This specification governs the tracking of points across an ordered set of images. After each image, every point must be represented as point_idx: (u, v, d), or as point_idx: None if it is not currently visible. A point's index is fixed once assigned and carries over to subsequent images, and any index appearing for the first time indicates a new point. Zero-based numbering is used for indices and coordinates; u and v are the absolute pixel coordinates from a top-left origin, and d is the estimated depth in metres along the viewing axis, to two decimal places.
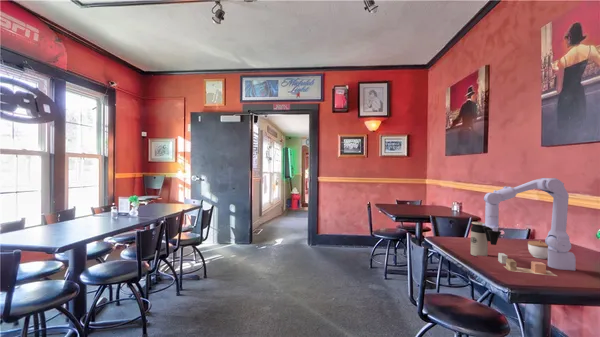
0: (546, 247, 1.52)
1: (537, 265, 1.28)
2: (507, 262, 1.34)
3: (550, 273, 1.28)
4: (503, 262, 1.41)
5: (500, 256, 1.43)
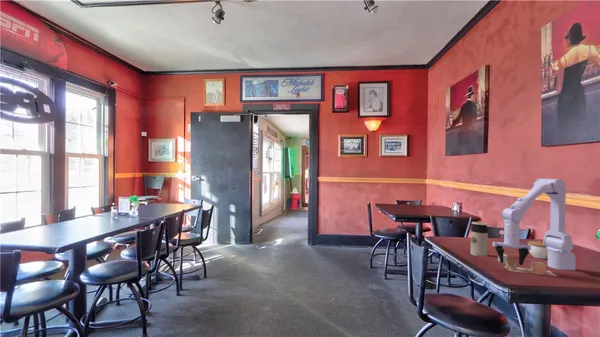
0: None
1: (537, 265, 1.28)
2: (507, 262, 1.34)
3: (550, 273, 1.28)
4: (503, 262, 1.41)
5: None
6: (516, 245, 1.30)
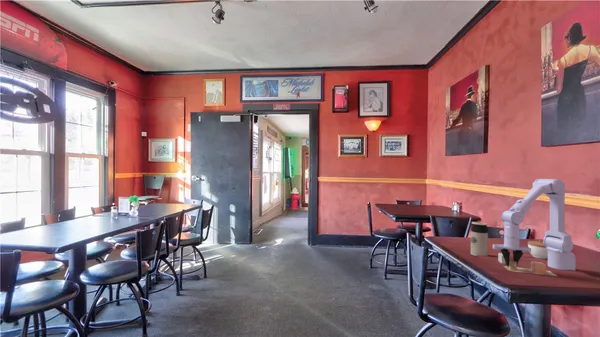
0: None
1: (537, 265, 1.28)
2: None
3: (550, 273, 1.28)
4: (503, 262, 1.41)
5: (500, 256, 1.43)
6: (516, 247, 1.30)
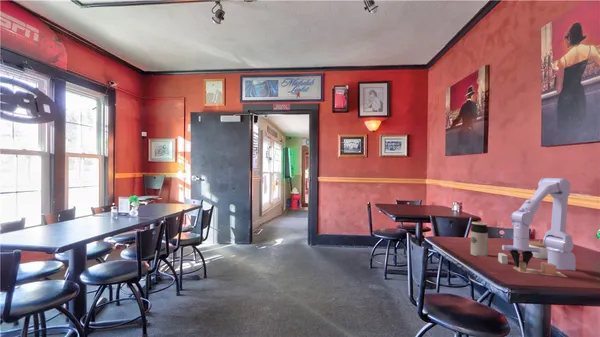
0: None
1: (547, 266, 1.27)
2: None
3: (560, 274, 1.26)
4: (503, 262, 1.41)
5: (500, 256, 1.43)
6: (526, 248, 1.29)
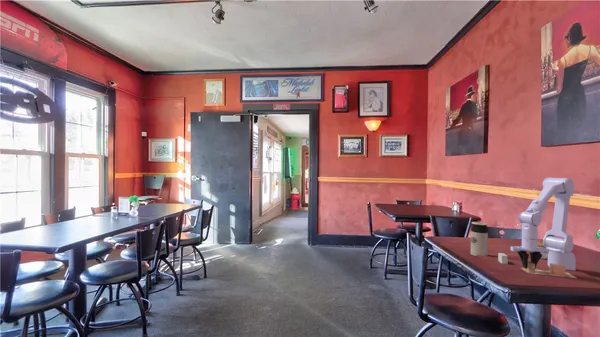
0: None
1: (556, 267, 1.26)
2: None
3: (569, 275, 1.25)
4: (503, 262, 1.41)
5: (500, 256, 1.43)
6: (535, 249, 1.28)
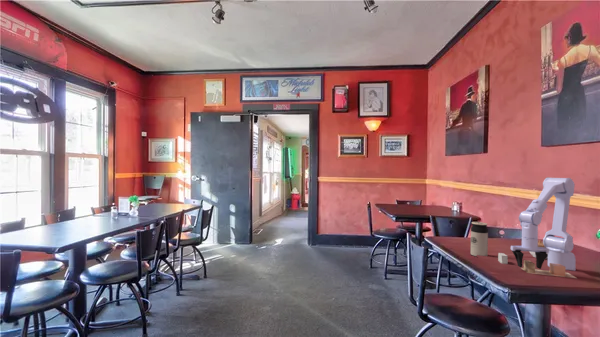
0: None
1: (556, 267, 1.26)
2: (525, 264, 1.32)
3: (569, 275, 1.25)
4: (503, 262, 1.41)
5: (500, 256, 1.43)
6: (535, 249, 1.28)
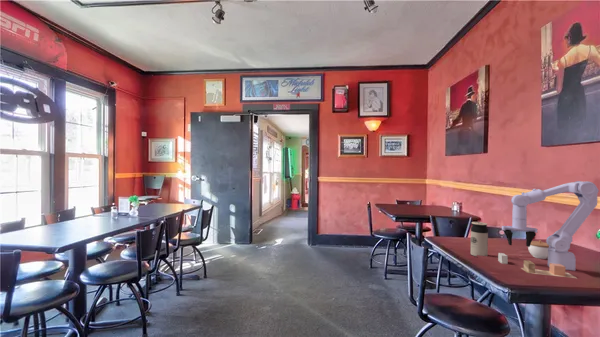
0: (546, 247, 1.52)
1: (556, 267, 1.26)
2: (525, 264, 1.32)
3: (569, 275, 1.25)
4: (503, 262, 1.41)
5: (500, 256, 1.43)
6: (524, 228, 1.41)
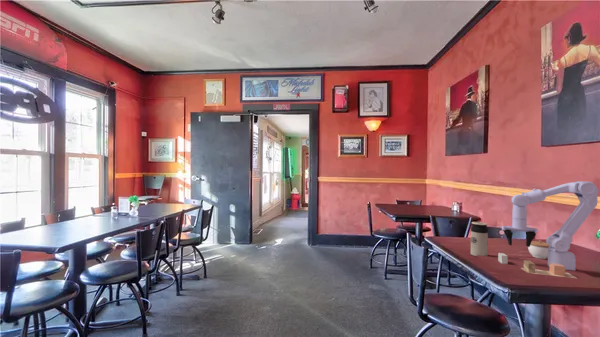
0: (546, 247, 1.52)
1: (556, 267, 1.26)
2: (525, 264, 1.32)
3: (569, 275, 1.25)
4: (503, 262, 1.41)
5: (500, 256, 1.43)
6: (524, 228, 1.41)
